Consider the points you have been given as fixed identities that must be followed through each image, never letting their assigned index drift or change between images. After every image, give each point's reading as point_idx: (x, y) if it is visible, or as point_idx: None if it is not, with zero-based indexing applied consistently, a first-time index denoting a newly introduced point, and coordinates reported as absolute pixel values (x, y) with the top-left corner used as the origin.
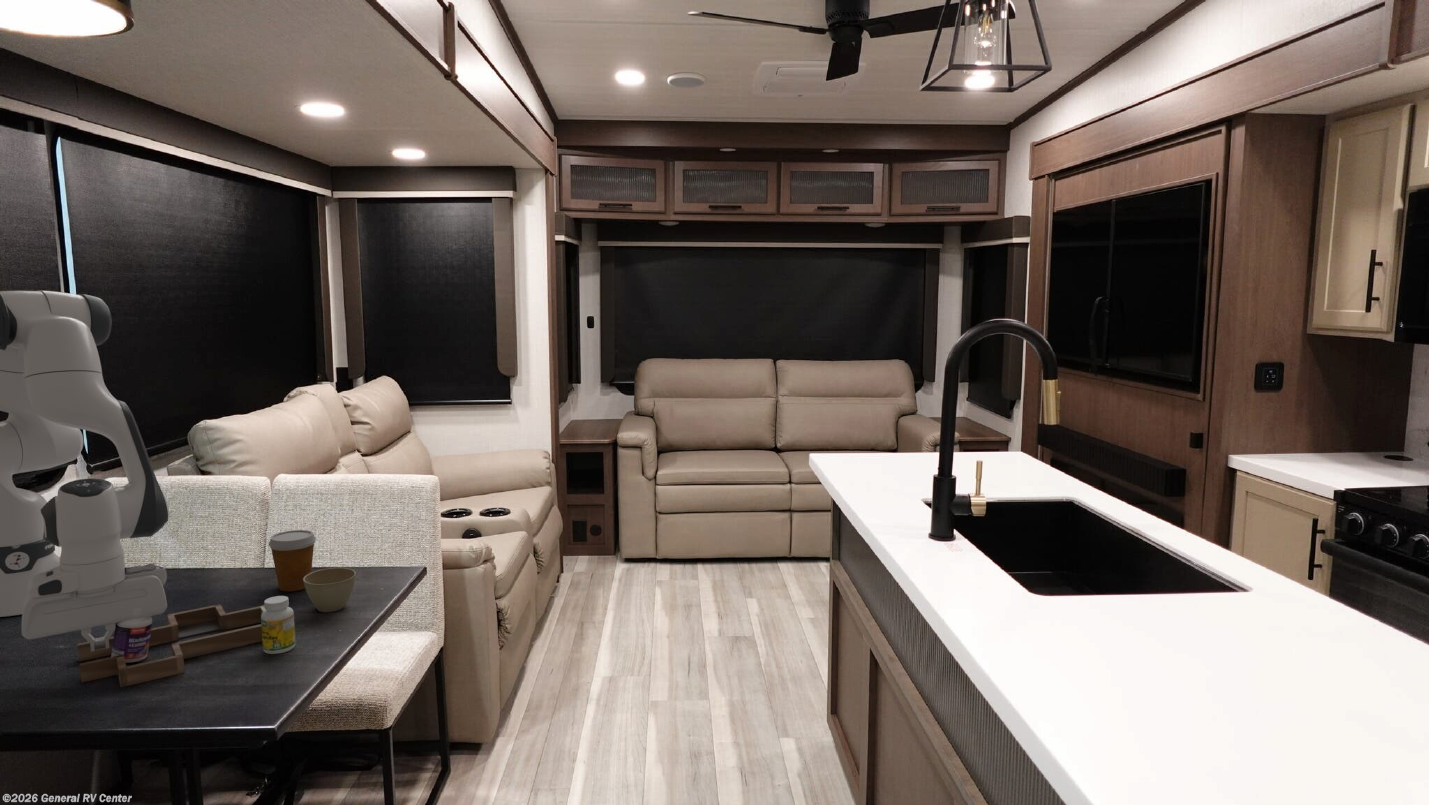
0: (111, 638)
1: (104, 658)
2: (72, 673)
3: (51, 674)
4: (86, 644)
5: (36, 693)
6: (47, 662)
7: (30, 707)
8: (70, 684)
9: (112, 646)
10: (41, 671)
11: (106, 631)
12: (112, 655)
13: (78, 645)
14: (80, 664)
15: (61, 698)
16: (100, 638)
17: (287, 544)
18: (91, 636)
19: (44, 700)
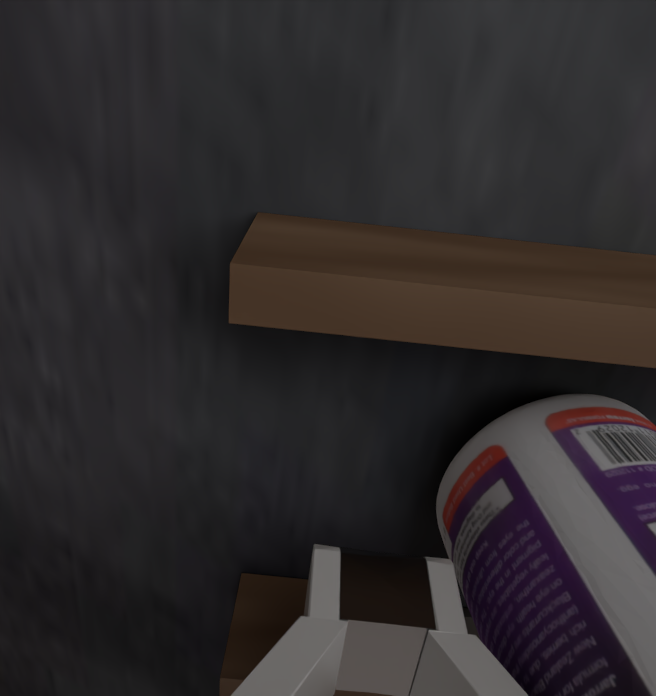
0: (535, 346)
1: (366, 692)
2: (204, 443)
3: (82, 370)
4: (308, 326)
5: (34, 576)
6: (23, 69)
7: (32, 687)
8: (190, 579)
9: (469, 556)
10: (7, 262)
11: (466, 684)
12: (444, 538)
13: (237, 320)
14: (224, 690)
15: (151, 686)
16: (393, 648)
17: None
18: (315, 693)
19: (82, 663)
